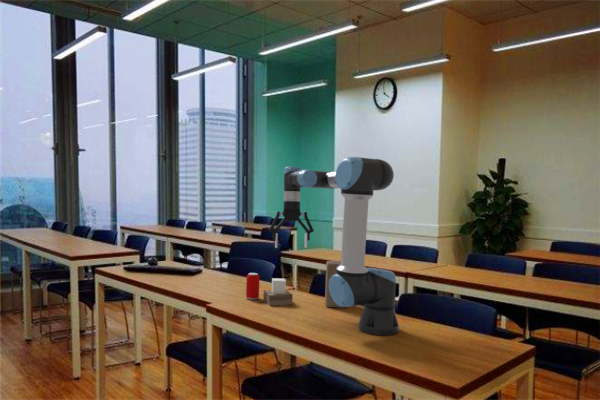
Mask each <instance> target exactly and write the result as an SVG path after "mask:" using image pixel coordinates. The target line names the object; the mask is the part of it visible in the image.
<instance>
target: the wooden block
mask: <svg viewBox="0 0 600 400" xmlns="http://www.w3.org/2000/svg"><path fill="white" fill-rule="evenodd" d="M340 264H341V260H327V261H326V264H325V292H324V293H325V294H324V303H325V306H326V308H333V307H335V309H336V308H338V309H339V308H341V309H347V308H348V306H345V307H342V306H339V305H337V304H336V303H335V302H334V301H333V299H332V297H331V295H330V292H329V280H330V278H331V276H333V275H334V274H336V268H337V267H338V266H339V265H340Z"/></svg>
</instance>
